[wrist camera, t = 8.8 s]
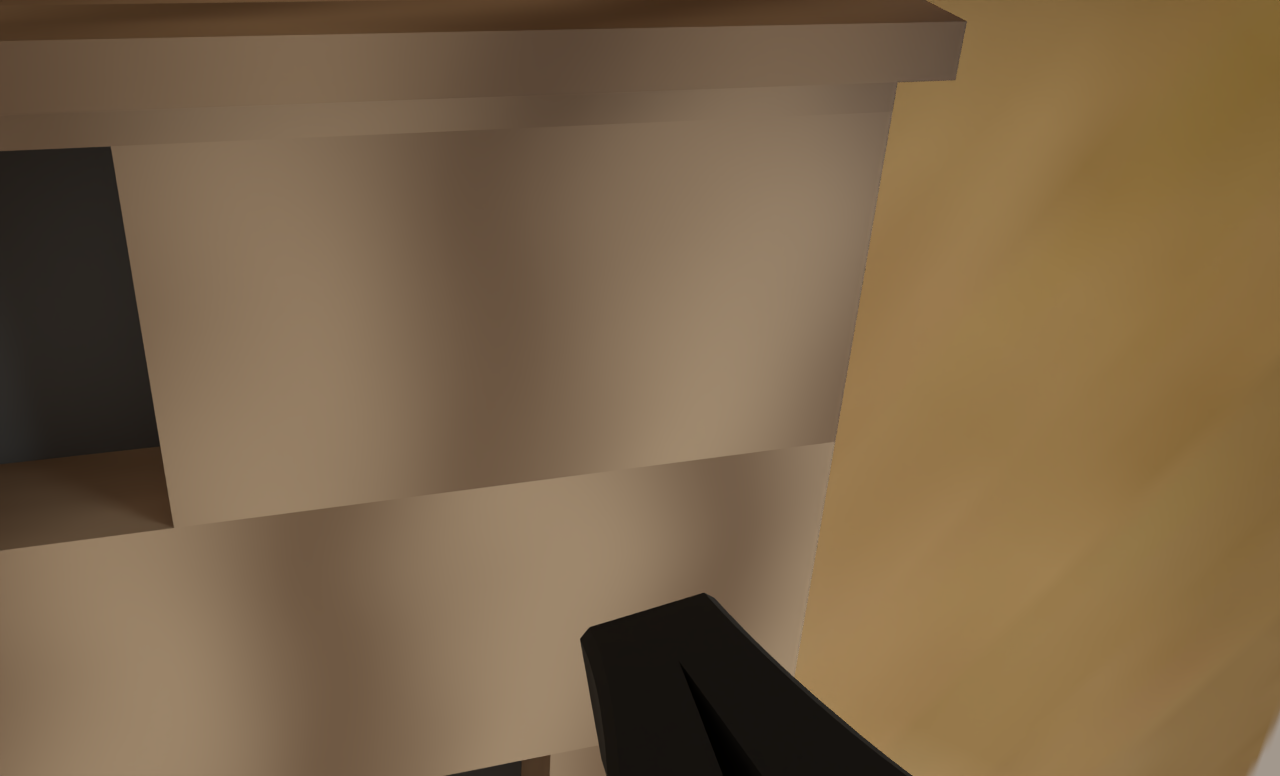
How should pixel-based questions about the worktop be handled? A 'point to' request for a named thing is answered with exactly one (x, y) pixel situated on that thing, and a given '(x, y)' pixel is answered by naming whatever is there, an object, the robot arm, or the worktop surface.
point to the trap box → (413, 360)
